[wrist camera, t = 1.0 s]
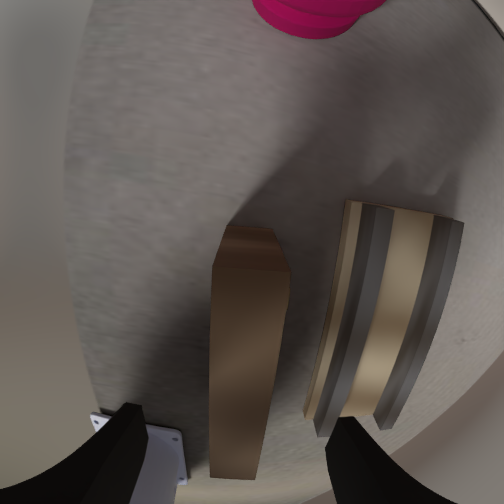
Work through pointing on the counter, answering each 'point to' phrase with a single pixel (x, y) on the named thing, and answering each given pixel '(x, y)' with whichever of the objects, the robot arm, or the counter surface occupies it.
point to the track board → (381, 311)
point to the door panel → (244, 346)
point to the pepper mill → (314, 15)
